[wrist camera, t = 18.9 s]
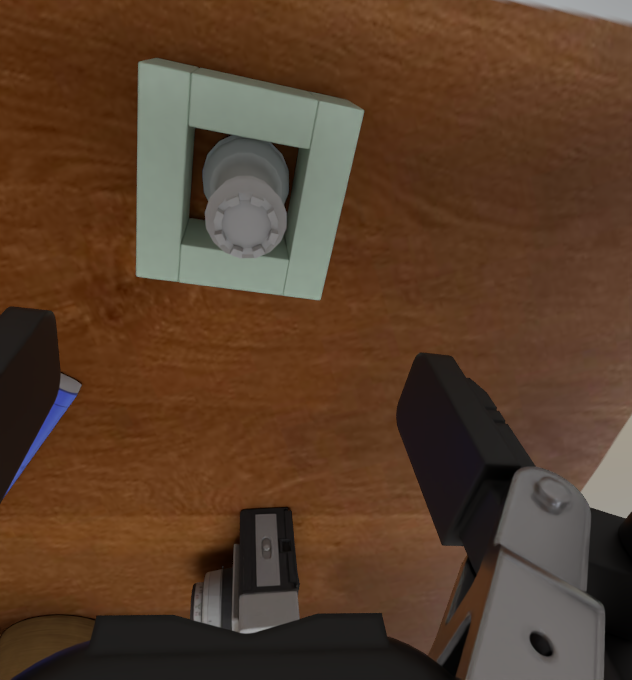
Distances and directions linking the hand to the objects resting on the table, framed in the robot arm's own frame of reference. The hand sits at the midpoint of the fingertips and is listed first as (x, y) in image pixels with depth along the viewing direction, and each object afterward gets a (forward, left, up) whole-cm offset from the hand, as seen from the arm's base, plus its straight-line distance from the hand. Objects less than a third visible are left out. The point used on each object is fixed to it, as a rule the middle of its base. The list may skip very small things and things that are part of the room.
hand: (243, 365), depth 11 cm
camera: (-4, +33, -17) cm, 37 cm away
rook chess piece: (0, 0, -17) cm, 17 cm away
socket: (0, 0, -17) cm, 17 cm away
